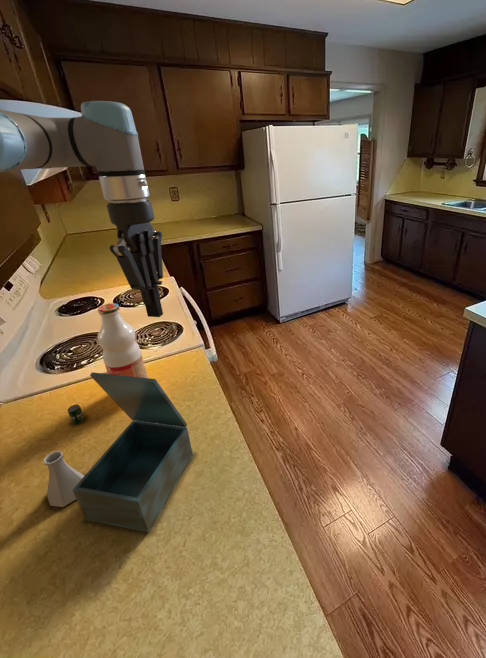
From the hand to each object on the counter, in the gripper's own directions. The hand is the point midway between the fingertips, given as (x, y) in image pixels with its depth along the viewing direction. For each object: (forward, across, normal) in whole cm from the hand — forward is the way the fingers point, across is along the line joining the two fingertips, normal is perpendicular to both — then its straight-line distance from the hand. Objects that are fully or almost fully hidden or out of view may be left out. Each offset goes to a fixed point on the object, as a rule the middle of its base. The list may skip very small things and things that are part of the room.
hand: (155, 315), depth 70 cm
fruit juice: (+33, +11, +22) cm, 41 cm away
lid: (+15, -10, 0) cm, 18 cm away
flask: (+33, -20, +15) cm, 41 cm away
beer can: (+33, -2, +29) cm, 44 cm away
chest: (+33, -16, 0) cm, 36 cm away
